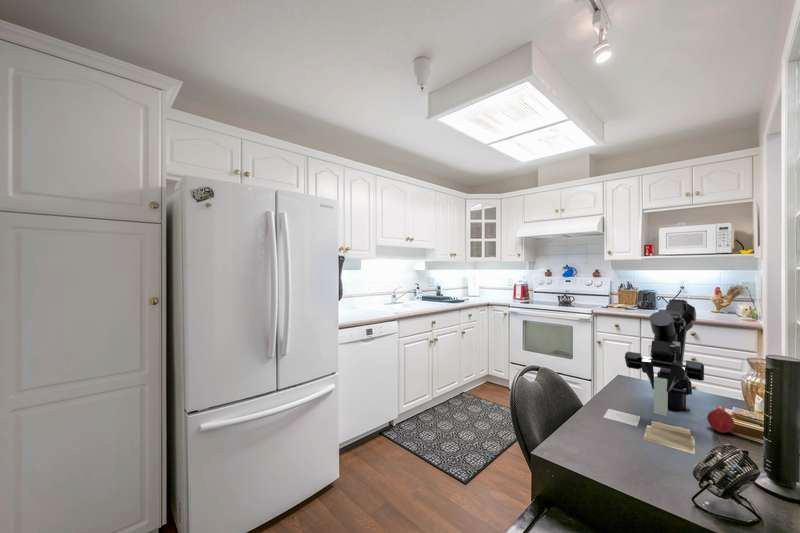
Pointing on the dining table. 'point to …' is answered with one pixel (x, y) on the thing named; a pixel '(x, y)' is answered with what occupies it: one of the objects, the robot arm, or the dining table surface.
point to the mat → (622, 417)
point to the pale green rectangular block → (660, 396)
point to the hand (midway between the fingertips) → (660, 390)
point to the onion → (720, 420)
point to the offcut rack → (670, 436)
